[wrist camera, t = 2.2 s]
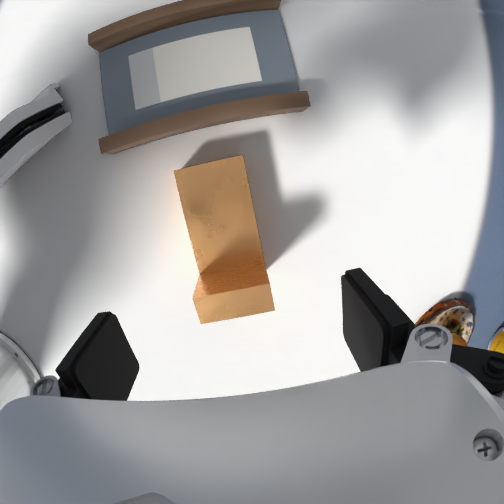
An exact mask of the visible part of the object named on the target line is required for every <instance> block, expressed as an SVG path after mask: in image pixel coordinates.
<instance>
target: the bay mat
mask: <svg viewBox="0 0 504 504" xmlns="http://www.w3.org/2000/svg"><path fill="white" fill-rule="evenodd" d="M99 56H100V69H101V80H102V89H103V97H104V105H105V112H106V119H107V125H108V131H109V135H111V134H114V133H117V132H120V131H122V130H125V129H128V128H131V127H134V126H137V125H140V124H143V123H146V122H150V121H153V120H156V119H160V118H163V117H167V116H170V115H174V114H178V113H181V112H185V111H189V110H193V109H197V108H202V107H206V106H211V105H215V104H220V103H225V102H230V101H236V100H241V99H247V98H253V97H260V96H267V95H274V94H283V93H292V92H299V87H298V83H297V78H296V74H295V70H294V66H293V62H292V57H291V54H290V50H289V46H288V42H287V38H286V34H285V31H284V27H283V24H282V20H281V17H280V13H279V10H278V9H276V10H263V11H253V12H244V13H237V14H230V15H224V16H218V17H212V18H207V19H202V20H198V21H193V22H189V23H185V24H181V25H177V26H173V27H170V28H166V29H163V30H159V31H156V32H153V33H150V34H147V35H144V36H141V37H138V38H135V39H132V40H130V41H127V42H124V43H122V44H119V45H117V46H114V47H112V48H109V49H107V50H105V51H102V52H100V53H99Z"/></svg>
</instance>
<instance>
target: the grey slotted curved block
mask: <svg viewBox="0 0 504 504" xmlns="http://www.w3.org/2000/svg"><path fill="white" fill-rule="evenodd" d="M59 87H60V85H59V83H56V84H51V85H50V86H48V87H47V88H46V89H45V90H44V91H43V92H41V93H40V94H39V95H38V96H37V97H36V98H35V99H34V100H33V101H32V102H30V103H28V104H26V105H24V106H22V107H20V108H17V109H16V110H14V111H12V112H11V113H10V114H8V115H7V116H6V117H5V118H4V119H3V120H2V121H0V188H1V187H2V186H3V185H4V183H5V182H6V181H7V180H8V179H9V178H10V177H11V176H12V175H13V174H14V173H15V172H16V171H17V170H18V169H19V168H20V167H21V166H22V165H23V164H24V163H25V162H26V161H28V160H29V159H30V158H31V157H32V156H33V155H34V154H35V153H36V152H37V151H39V150H40V149H41V148H42V147H43V146H44V145H45V144H47V143H48V142H49V141H50V140H51V139H53V138H54V137H55V136H56V135H57V134H59V133H60V132H61V131H62V130H64V129H65V128H66V127H68V126H69V125H70V124H72V118H71V114H70V111H69V112H67V113H65V111H64V110H63V111H61V112H59V113H57V114H55V115H53V116H51V117H49V116H50V115H52V114H53V113H54V112H55V111H57V110H58V109H59V108H60V107H62V105H61V102H62V101H63V99H62V97H61V96H60V95H59V94H58V92H57V91H56V89H57V88H59ZM47 117H49V118H47ZM45 118H47V119H45Z"/></svg>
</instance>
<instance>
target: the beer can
mask: <svg viewBox="0 0 504 504" xmlns="http://www.w3.org/2000/svg"><path fill="white" fill-rule="evenodd" d="M488 350H491V351H497V352H501V353H504V327H502V328H500V329H499V330H498V331H497V332H496V333H495V334H494V336H493V337H492V339H491V341H490V343H489V346H488Z"/></svg>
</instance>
